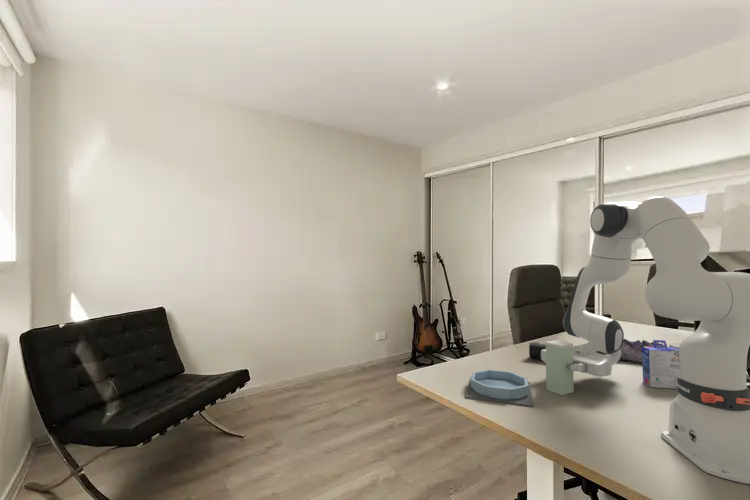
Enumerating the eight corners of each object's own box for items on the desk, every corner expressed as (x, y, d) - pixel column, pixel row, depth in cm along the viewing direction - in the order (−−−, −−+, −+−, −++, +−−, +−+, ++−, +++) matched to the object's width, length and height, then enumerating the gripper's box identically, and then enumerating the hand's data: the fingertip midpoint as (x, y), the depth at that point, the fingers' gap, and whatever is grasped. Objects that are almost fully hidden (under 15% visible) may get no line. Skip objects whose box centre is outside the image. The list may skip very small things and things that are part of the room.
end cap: (529, 361, 145) (529, 344, 145) (530, 356, 151) (530, 340, 151) (556, 364, 140) (556, 347, 140) (557, 359, 146) (556, 343, 146)
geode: (666, 361, 143) (668, 337, 142) (670, 373, 134) (671, 347, 133) (606, 351, 155) (607, 329, 154) (605, 362, 145) (606, 338, 144)
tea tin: (574, 392, 112) (573, 343, 112) (562, 395, 109) (561, 346, 109) (557, 386, 117) (556, 339, 117) (545, 389, 114) (545, 342, 114)
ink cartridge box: (674, 383, 118) (674, 340, 118) (685, 390, 113) (684, 344, 113) (641, 381, 120) (640, 338, 120) (650, 387, 115) (649, 342, 115)
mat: (533, 407, 101) (533, 405, 101) (465, 397, 108) (465, 396, 108) (529, 383, 120) (529, 381, 120) (471, 376, 126) (471, 375, 126)
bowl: (530, 403, 102) (529, 392, 103) (468, 395, 109) (468, 384, 109) (527, 382, 119) (527, 373, 119) (473, 376, 125) (473, 367, 125)
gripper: (555, 342, 128) (529, 347, 122) (616, 356, 110) (589, 363, 104) (555, 359, 128) (529, 365, 122) (616, 376, 110) (590, 384, 104)
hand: (557, 364), depth 112 cm, fingers open, 7 cm apart
